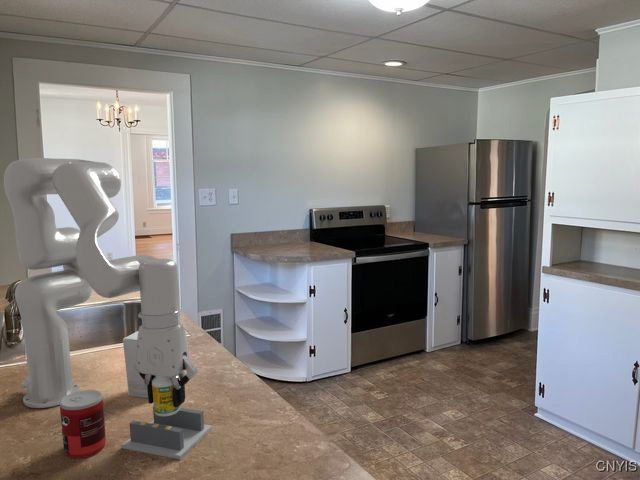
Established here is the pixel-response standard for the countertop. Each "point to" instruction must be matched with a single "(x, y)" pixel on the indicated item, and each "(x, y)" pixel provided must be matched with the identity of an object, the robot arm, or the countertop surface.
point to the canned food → (83, 423)
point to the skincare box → (133, 377)
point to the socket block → (168, 434)
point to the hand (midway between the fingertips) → (166, 401)
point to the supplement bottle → (163, 396)
